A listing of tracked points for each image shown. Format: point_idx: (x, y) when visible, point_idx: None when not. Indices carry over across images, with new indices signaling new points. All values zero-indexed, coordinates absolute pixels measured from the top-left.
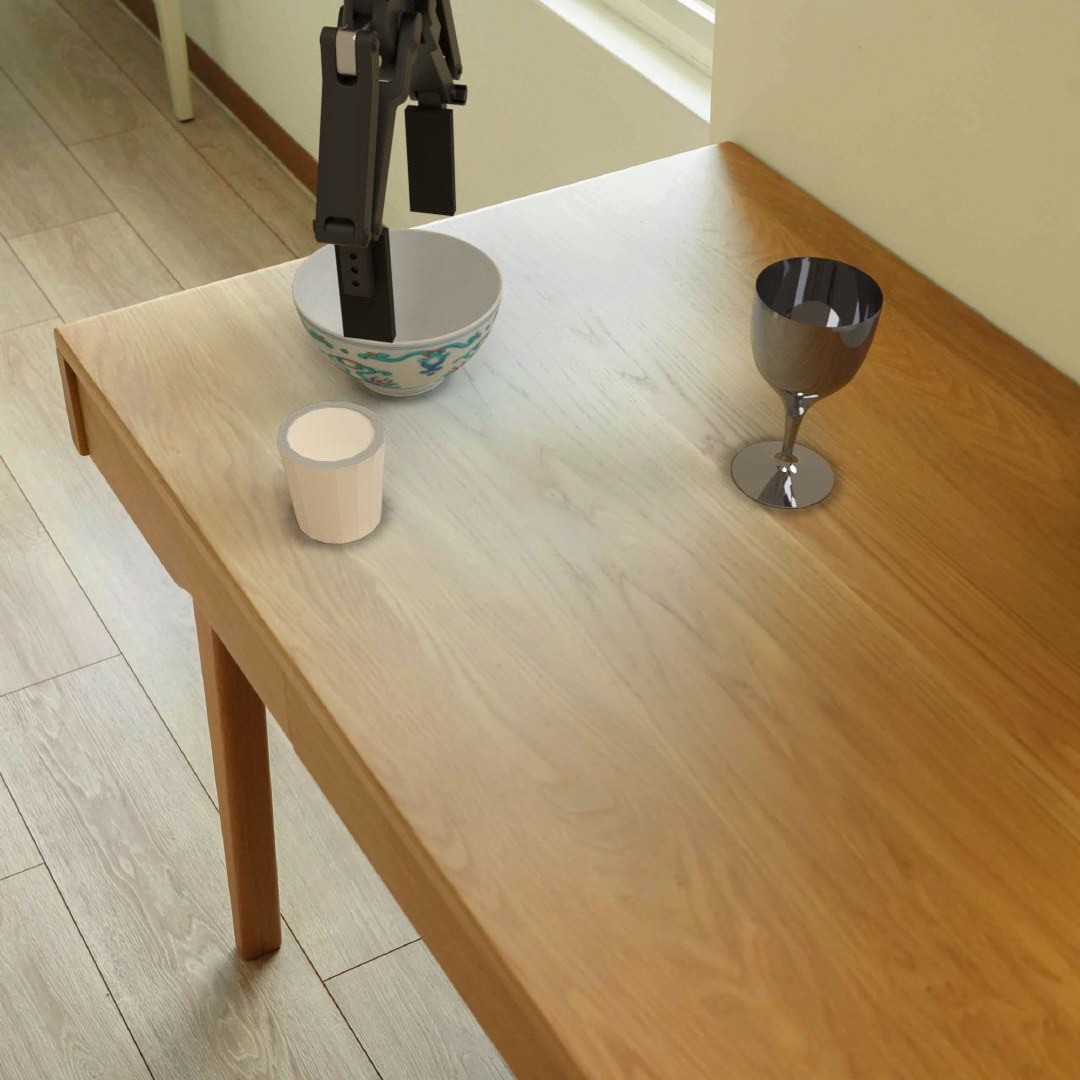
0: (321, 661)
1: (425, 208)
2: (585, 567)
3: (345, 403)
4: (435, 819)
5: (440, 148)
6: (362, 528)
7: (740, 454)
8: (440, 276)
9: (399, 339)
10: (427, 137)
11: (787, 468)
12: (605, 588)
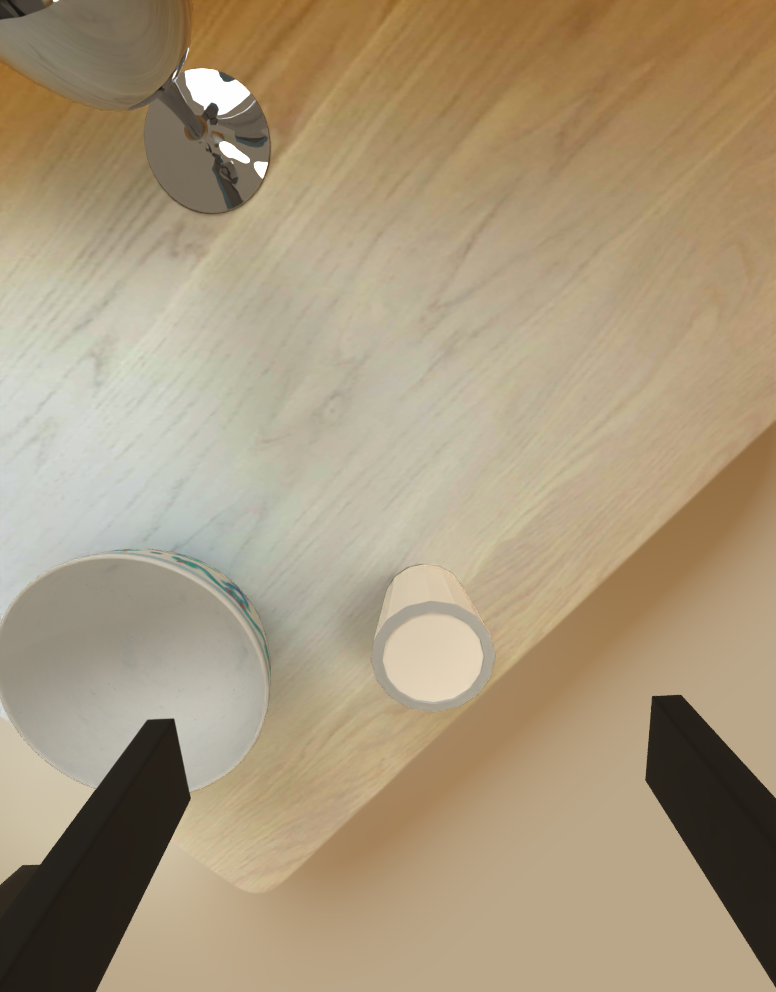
0: (609, 553)
1: (179, 780)
2: (432, 348)
3: (375, 662)
4: (769, 402)
5: (69, 915)
6: (451, 576)
7: (192, 205)
8: (54, 636)
9: (156, 637)
10: (55, 986)
11: (211, 127)
12: (457, 319)
